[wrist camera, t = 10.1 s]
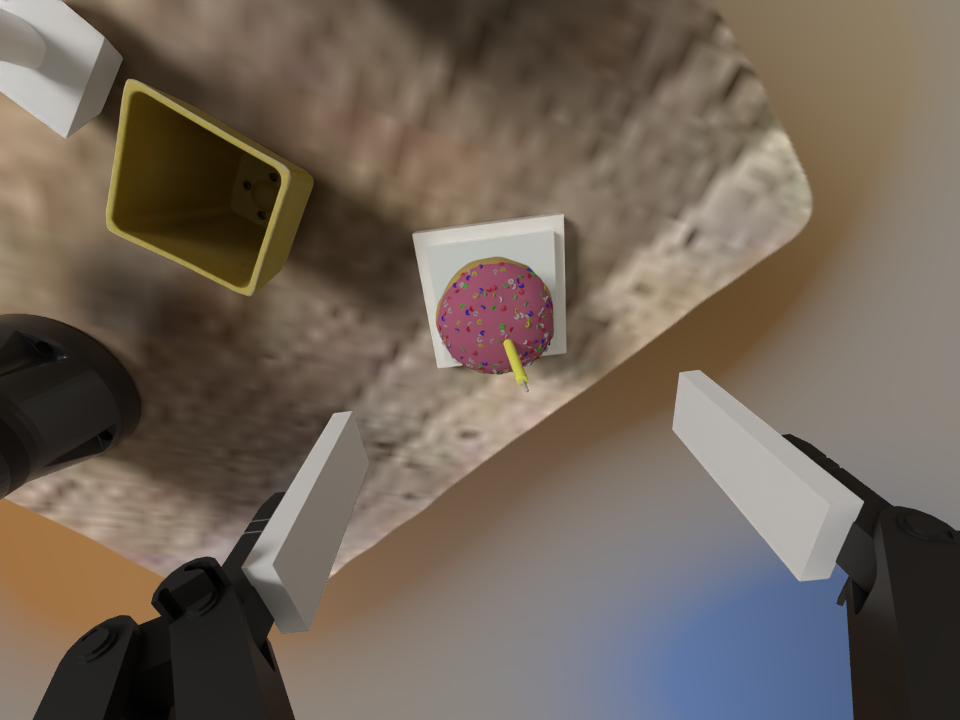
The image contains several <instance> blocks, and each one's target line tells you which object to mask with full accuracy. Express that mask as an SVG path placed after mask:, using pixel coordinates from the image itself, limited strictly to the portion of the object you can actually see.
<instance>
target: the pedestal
mask: <svg viewBox="0 0 960 720" xmlns="http://www.w3.org/2000/svg"><path fill="white" fill-rule="evenodd" d="M412 236H413V241H414V246H415V252H416V257H417V262H418V267H419V273H420V278H421V283H422V288H423V293H424V299H425V304H426V309H427V314H428V319H429V325H430V330H431V335H432V340H433V346H434V351H435V356H436V361H437V366H438V368H445V367H453V366H462V364H461V363H460V362H458V361H457V360H455V359H452V358H451V354H450V353H449V351H448V350H447V348H446V346H445V345H443V344H444V343H443V344H442V339H441V338H440V336H439V332H438V330H437V327H436V310H437V305H438V302H439V300H440V299H441V297H442V295H443V293H444V291H445V289H446V287H447V285H448V283H449V282H450V280H451V279H452V277H453V276H454V275H455V274H456V273H457V271H459V270H460V269H461V268H462V267H464V266H465V265H466V264H468V263H470V262H472V261H475V260H480V259H486V258H490V257H504V258H507V259H510V260H513V261H516V262H519V263H522V264H525V265H527V266H529V267H530V268H531V269H532V270H533V271H534V272H535V274H536V275H538V276H539V277H540V278H541V280H542V281H543V282H544V283H545V285H546V286H547V288H548V289H549V291H550V294H551V297H552V302H553V314H554V337H553V338H552V339H551V341H550V345H548V346H547V347H548V351H547V352H545V351H544V352H543V354H542V355H541V356H547V355H555V354H564V353H567V348H566V300H565V252H564V214H561V213H551V214H544V215H536V216H528V217H521V218H513V219H505V220H498V221H490V222H483V223H475V224H467V225H460V226H452V227H444V228H437V229H429V230H422V231H415V232H414V233H413V234H412ZM545 350H546V349H545Z"/></svg>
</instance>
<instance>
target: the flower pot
mask: <svg viewBox="0 0 960 720" xmlns="http://www.w3.org/2000/svg"><path fill="white" fill-rule="evenodd" d="M272 173H275V174H276V175H277V177H278V179H277V181H273V180H272V179H271V174H272ZM245 182H249V183H250V184H251V188H250V189H246V188H245V186H244V183H245ZM313 184H314V180H313V178H312V176H311V175H310V174H309V173H308V172H307V171H305V170H304V169H302V168H300V167H298V166H297V165H295V164H293V163H291V162H290V161H288V160H286V159H284V158H282V157H281V156H279V155H277V154H275V153H274V152H272V151H270V150H268V149H267V148H265V147H263V146H261V145H260V144H258V143H256V142H255V141H253V140H251V139H250V138H248V137H246V136H244V135H243V134H241V133H239V132H238V131H236V130H234V129H233V128H231V127H229V126H228V125H226V124H224V123H223V122H221V121H219V120H218V119H216V118H214V117H213V116H211V115H209V114H208V113H206V112H204V111H202V110H200V109H198V108H196V107H194V106H192V105H190V104H188V103H186V102H184V101H182V100H179V99H177V98H175V97H173V96H171V95H169V94H166V93H164V92H162V91H160V90H158V89H156V88H154V87H151V86H149V85H147V84H144V83H142V82H140V81H137V80H133V79H128V80H127V81H126V83H125V86H124V90H123V96H122V102H121V109H120V119H119V127H118V134H117V142H116V149H115V158H114V164H113V170H112V177H111V183H110V188H109V195H108V201H107V208H106V223H107V228H108V230H110V231H111V232H113V233H114V234H116V235H118V236H120V237H122V238H124V239H126V240H128V241H131V242H133V243H135V244H137V245H140V246H142V247H144V248H147V249H149V250H151V251H153V252H155V253H157V254H159V255H162V256H164V257H166V258H168V259H171V260H173V261H175V262H177V263H179V264H181V265H183V266H186V267H188V268H190V269H192V270H194V271H195V272H197V273H200V274H201V275H203V276H205V277H207V278H209V279H211V280H213V281H215V282H217V283H219V284H221V285H223V286H225V287H227V288H229V289H231V290H233V291H235V292H238V293H240V294H243V295H246V296H252V295H253V294H254V293H255V292H256V291H258V290H259V289H260V288H261V287H262V286H264V285H265V284H266V283H267V282H268V281H269V280H271V279H272V278H273V277H274V276H275V275H276V274H277V273H278V272H279V271H280V270H281V269H282V267H283V266H284V264H285V262H286V260H287V258H288V256H289V253H290V250H291V247H292V244H293V241H294V238H295V235H296V232H297V229H298V226H299V224H300V221H301V218H302V215H303V212H304V210H305V207H306V204H307V201H308V199H309V196H310V194H311V191H312V188H313ZM260 211H262V212H264V213H265V215H266V217H265V218H264V219H262V218H260V217H259V212H260Z"/></svg>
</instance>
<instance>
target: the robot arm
mask: <svg viewBox="0 0 960 720" xmlns="http://www.w3.org/2000/svg"><path fill="white" fill-rule="evenodd" d="M139 416H140V403H139V398H138V394H137V391H136V389H135V387H134V384H133V382H132V381H131V379H130V377H129V376H128V374H127V373H126V371H125V370H124V369H123V367H122V366H121V365H120V364H119V363H118V361H117V360H116V359H115V358H114V357H113V356H112V355H111V354H110V353H109V352H107V351H106V350H105V349H104V348H103V347H101V346H100V345H99V344H98V343H96V342H95V341H93V340H92V339H90V338H89V337H87V336H86V335H84V334H82V333H81V332H79V331H77V330H75V329H73V328H71V327H69V326H67V325H64V324H62V323H60V322H57V321H54V320H51V319H47V318H44V317H40V316H35V315H28V314H4V315H0V500H1V499H2V498H4V497H5V496H7V495H8V494H10V493H11V492H13V491H14V490H16V489H17V488H19V487H21V486H22V485H24V484H25V483H27V482H29V481H31V480H34V479H37V478H40V477H42V476H45V475H48V474H50V473H53V472H56V471H59V470H61V469H64V468H67V467H69V466H72V465H75V464H78V463H80V462H83V461H86V460H88V459H91V458H94V457H96V456H99V455H101V454H103V453H105V452H107V451H108V450H110V449H111V448H113V447H114V446H115V445H117V444H118V443H120V442H121V441H122V440H124V439H125V438H126V437H128V436H129V435H130V434H131V433H132V432H133V430H134V429H135V427H136V425H137V423H138V420H139ZM672 430H673V431H674V432H675V433H676V434H677V435H678V437H679V438H680V439H681V440H682V441H683V443H684V444H685V445H686V446H687V448H688V449H689V450H690V451H691V452H692V454H693V455H694V456H695V457H696V458H697V460H698V461H699V462H700V463H701V464H702V465H703V467H704V468H705V469H706V470H707V471H708V472H709V474H710V475H711V476H712V477H713V478H714V480H715V481H716V482H717V483H718V485H719V486H720V487H721V488H722V489H723V491H724V492H725V493H726V494H727V495H728V497H729V498H730V499H731V500H732V501H733V503H734V504H735V505H736V506H737V507H738V508H739V510H740V511H741V512H742V513H743V514H744V516H745V517H746V518H747V519H748V521H749V522H750V523H751V524H752V525H753V527H754V528H755V529H756V530H757V531H758V532H759V534H760V535H761V536H762V537H763V539H764V540H765V541H766V542H767V543H768V544H769V546H770V547H771V548H772V549H773V550H774V552H775V553H776V554H777V555H778V556H779V557H780V559H781V560H782V561H783V562H784V564H785V565H786V566H787V567H788V568H789V569H790V571H791V572H792V573H793V574H794V576H795V577H796V578H797V579H798V580H799V581H809V580H819V579H828V578H830V575H831V573H832V571H833V569H834V567H835V564H836V563H837V564H838V565H839V566H840V567H841V568H842V569H843V570H844V571H845V572H846V573H847V574H848V575H849V577H848V579H847V581H846V583H845V585H844V587H843V589H842V591H841V593H840V595H839V597H838V600H837V604H838V605H841V606H843V604H844V602H845V600H846V602H847V619H848V634H849V651H850V667H851V684H852V698H853V699H852V700H853V716H854V720H960V531H956V530H954V529H953V528H952V527H951V526H949V525H948V524H947V523H945V522H943V521H941V520H939V519H937V518H936V517H934V516H932V515H929V514H926V513H924V512H921V511H918V510H916V509H911V508H906V507H901V506H895V507H894V506H892V505H891V504H890V503H888V502H887V501H886V500H884V499H883V498H882V497H880V496H879V495H878V494H876V493H875V492H874V491H872V490H871V489H870V488H868V487H867V486H866V485H864V484H863V483H862V482H860V481H859V480H858V479H857V478H855V477H854V476H852V475H851V474H850V473H849V472H847V471H846V470H845V469H843V468H840V467H839V465H838V464H837V463H835V462H834V461H833V460H831V459H830V458H827V457H826V455H825V454H823V453H822V452H821V451H819V450H818V449H817V448H815V447H814V446H813V445H811V444H810V443H808V442H806V441H804V440H801V439H799V438H797V437H795V436H793V435H791V434H786V435H780V434H779V433H777V432H776V431H775V430H774V429H772V428H771V427H770V426H769V425H767V424H766V423H765V422H764V421H762V420H761V419H760V418H759V417H757V416H756V415H755V414H754V413H752V412H751V411H750V410H749V409H747V408H746V407H745V406H744V405H742V404H741V403H740V402H739V401H737V400H736V399H735V398H734V397H732V396H731V395H730V394H728V393H727V392H726V391H725V390H724V389H722V388H721V387H719V386H718V385H717V384H716V383H715V382H714V381H712V380H711V379H710V378H708V377H707V376H706V375H705V374H704V373H702V372H701V371H700V370H696V371H687V372H680V373H679V381H678V389H677V397H676V404H675V413H674V420H673V428H672ZM368 466H369V461H368V458H367V455H366V451H365V448H364V445H363V442H362V439H361V436H360V433H359V430H358V427H357V424H356V421H355V418H354V414H353V411H348V412H340V413H334V414H333V415H332V417H331V419H330V420H329V422H328V424H327V425H326V427H325V429H324V430H323V432H322V434H321V435H320V437H319V439H318V440H317V442H316V444H315V445H314V447H313V449H312V450H311V452H310V454H309V455H308V457H307V459H306V460H305V462H304V464H303V465H302V467H301V469H300V470H299V472H298V474H297V475H296V477H295V479H294V481H293V482H292V484H291V486H290V487H289V489H288V491H287V492H279V493H275V494H274V495H273V496H272V497H270V498H269V499H268V500H267V501H266V502H265V503H264V504H263V505H262V506H261V507H260V509H259V510H258V512H257V513H256V515H255V516H254V518H253V519H252V523H250V524H249V526H248V527H247V529H246V530H245V534H244V535H242V536H241V538H240V539H239V541H238V542H237V544H236V545H235V547H234V549H233V550H232V552H231V553H230V555H229V556H228V558H227V559H226V561H225V562H224V564H223V565H222V567H221V566H220V565H219V563H218V562H217V560H216V559H215V558H212V557H202V558H197V559H194V560H192V561H190V562H188V563H185V564H183V565H182V566H181V567H179V568H178V569H176V570H175V571H173V572H172V573H171V574H170V575H169V576H168V577H167V578H166V579H165V580H163V582H161V584H160V585H159V587H158V588H157V590H156V591H155V593H154V594H153V598H152V602H151V604H152V605H153V607H154V608H155V609H156V610H157V611H158V612H159V614H160V615H161V617H158V618H156V619H153V620H150V621H148V622H145V623H143V624H140V625H138V624H137V623H136V622H135V621H134V620H133V619H132V618H131V617H130V616H126V615H120V616H117V617H114V618H110V619H108V620H106V621H104V622H102V623H101V624H99V625H97V626H95V627H94V628H92V629H91V630H90V631H88V632H87V633H86V634H85V635H83V636H82V637H81V638H79V640H78V641H77V642H76V643H75V644H74V645H73V646H72V647H71V648H70V649H69V650H68V651H67V653H66V654H65V656H64V657H63V659H62V660H61V662H60V663H59V665H58V667H57V669H56V672H55V674H54V676H53V678H52V680H51V682H50V684H49V686H48V688H47V691H46V693H45V695H44V697H43V699H42V701H41V703H40V705H39V707H38V710H37V712H36V714H35V716H34V718H33V720H295V718H294V714H293V711H292V708H291V705H290V702H289V699H288V696H287V693H286V689H285V686H284V683H283V680H282V677H281V674H280V671H279V667H278V665H277V661H276V658H275V655H274V652H273V649H272V646H271V643H270V641H269V640H268V638H267V636H268V633H269V631H270V629H271V627H272V624H273V622H275V624H276V625H277V627H278V629H279V630H280V632H281V633H282V634H283V633H294V632H304V631H309V630H310V627H311V624H312V621H313V619H314V616H315V613H316V610H317V607H318V605H319V602H320V599H321V597H322V594H323V591H324V588H325V586H326V583H327V580H328V577H329V574H330V572H331V569H332V566H333V563H334V561H335V558H336V555H337V552H338V550H339V547H340V544H341V541H342V538H343V536H344V533H345V530H346V527H347V525H348V522H349V519H350V516H351V514H352V511H353V508H354V505H355V502H356V500H357V497H358V494H359V491H360V489H361V486H362V483H363V480H364V478H365V475H366V472H367V469H368Z"/></svg>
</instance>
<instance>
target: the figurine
mask: <svg viewBox="0 0 960 720" xmlns="http://www.w3.org/2000/svg"><path fill="white" fill-rule="evenodd" d="M122 61H123V57H122V56H121V55H120V53H119V52H118V51H117V50H116V49H115V48H114V47H113V46H112V44H111V43H110V42H109V41H108V40H107V39H106V38H105V37H104V36H103V35H102V34H101V33H99V32H98V31H97V30H96V29H95V28H93V27H92V26H91V25H90V24H89V23H87V22H86V21H85V20H84V19H83V18H81V17H80V16H79V15H78V14H77V13H75V12H74V11H73V10H72V9H71V8H69V7H68V6H67V5H66V4H65V3H63V2H62V1H61V0H0V91H1V92H2V93H3V94H5V95H6V96H7V97H9V98H10V99H12V100H13V101H14V102H16V103H17V104H18V105H20V106H21V107H23V108H24V109H25V110H27V111H28V112H29V113H31V114H32V115H33V116H35V117H36V118H38V119H39V120H40V121H42V122H43V123H44V124H46V125H47V126H49V127H50V128H51V129H53V130H54V131H55V132H57V133H58V134H59V135H61V136H62V137H64V138H65V139H66V138H68V137H69V136H70V135H72V134H73V133H74V132H76V131H77V130H78V129H80V128H81V127H82V126H84V125H85V124H87V123H88V122H89V121H91V120H92V119H93V118H95V117H96V116H97V115H99V114H100V113H101V112H102V109H103V107H104V104H105V102H106V100H107V97H108V95H109V92H110V90H111V87H112V85H113V83H114V80H115V78H116V75H117V73H118V70H119V68H120V65H121V63H122Z"/></svg>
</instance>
